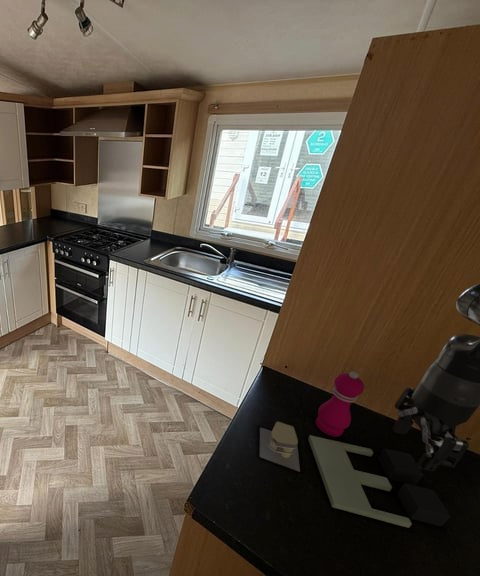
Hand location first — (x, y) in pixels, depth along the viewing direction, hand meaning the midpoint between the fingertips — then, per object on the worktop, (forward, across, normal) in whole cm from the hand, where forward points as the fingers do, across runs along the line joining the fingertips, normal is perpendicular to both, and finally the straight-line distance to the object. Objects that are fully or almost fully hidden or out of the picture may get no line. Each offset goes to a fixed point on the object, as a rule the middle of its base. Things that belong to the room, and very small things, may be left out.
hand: (410, 449), depth 64 cm
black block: (+16, -1, -7) cm, 18 cm away
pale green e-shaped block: (+16, +3, +4) cm, 17 cm away
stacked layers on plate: (+16, +7, +19) cm, 26 cm away
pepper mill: (+16, +18, +4) cm, 25 cm away
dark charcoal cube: (+16, +8, -7) cm, 20 cm away
